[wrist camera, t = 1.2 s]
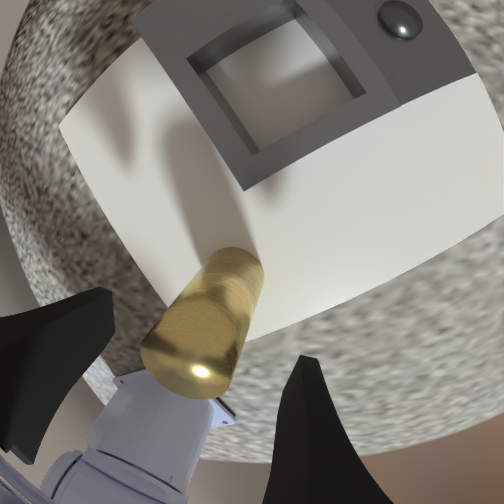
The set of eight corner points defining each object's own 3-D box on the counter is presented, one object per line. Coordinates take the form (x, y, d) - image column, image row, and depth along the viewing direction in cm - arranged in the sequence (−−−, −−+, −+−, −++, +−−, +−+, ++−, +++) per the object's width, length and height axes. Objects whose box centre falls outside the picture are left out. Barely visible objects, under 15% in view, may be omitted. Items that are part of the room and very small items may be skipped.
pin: (226, 310, 16) (180, 405, 9) (194, 263, 15) (123, 343, 9) (275, 287, 15) (249, 390, 8) (243, 236, 14) (188, 316, 8)
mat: (210, 346, 18) (206, 355, 17) (68, 125, 14) (58, 126, 14) (513, 196, 11) (522, 200, 10) (356, -61, 7) (357, -69, 6)
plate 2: (255, 183, 13) (248, 188, 11) (179, 69, 11) (164, 62, 10) (465, 76, 9) (480, 71, 7) (385, -30, 7) (392, -45, 6)
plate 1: (255, 183, 13) (243, 191, 11) (154, 33, 11) (129, 20, 9) (385, 112, 10) (401, 106, 8) (265, -35, 8) (257, -59, 6)
